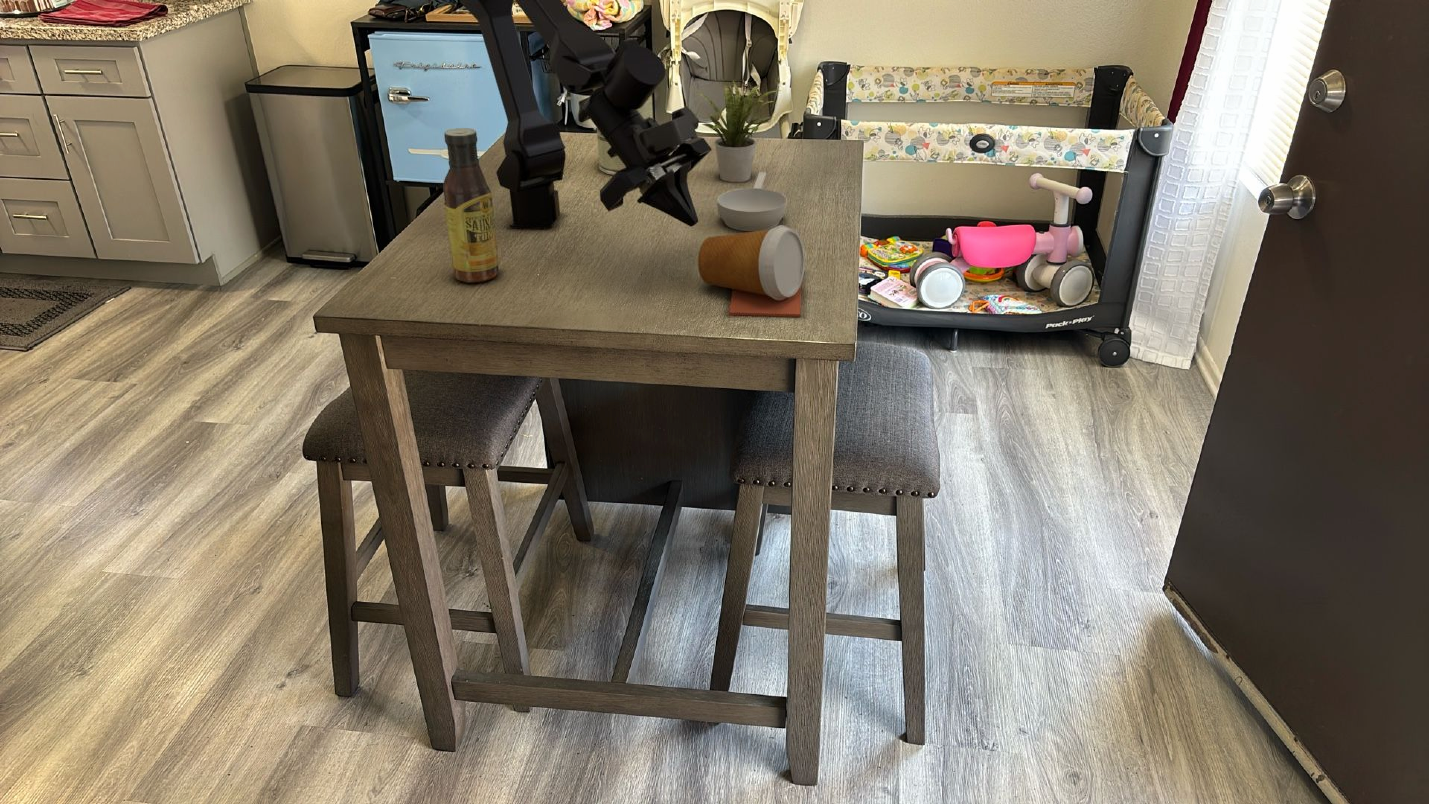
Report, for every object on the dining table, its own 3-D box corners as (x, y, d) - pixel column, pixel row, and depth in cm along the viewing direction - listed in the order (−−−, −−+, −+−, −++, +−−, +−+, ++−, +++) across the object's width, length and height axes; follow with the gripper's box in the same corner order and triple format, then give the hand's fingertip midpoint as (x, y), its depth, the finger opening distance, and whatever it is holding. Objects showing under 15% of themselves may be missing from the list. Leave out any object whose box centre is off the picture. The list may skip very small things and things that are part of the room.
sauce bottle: (477, 288, 132) (456, 141, 122) (444, 279, 135) (421, 134, 125) (511, 272, 137) (493, 129, 127) (477, 263, 140) (458, 122, 130)
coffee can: (609, 156, 182) (604, 78, 175) (662, 160, 180) (660, 81, 173) (590, 174, 174) (584, 92, 167) (646, 178, 172) (643, 95, 165)
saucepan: (711, 231, 150) (711, 207, 148) (730, 192, 165) (730, 170, 163) (782, 235, 148) (782, 211, 146) (794, 196, 163) (795, 173, 161)
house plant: (799, 179, 170) (803, 83, 162) (739, 197, 163) (740, 97, 154) (744, 161, 180) (745, 68, 171) (685, 176, 172) (683, 81, 164)
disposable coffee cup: (709, 310, 133) (788, 316, 127) (682, 262, 126) (764, 265, 120) (735, 259, 137) (813, 261, 131) (710, 209, 130) (791, 209, 124)
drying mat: (729, 315, 125) (729, 312, 125) (736, 270, 137) (736, 268, 137) (800, 317, 124) (800, 314, 124) (801, 272, 136) (801, 269, 136)
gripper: (612, 106, 118) (690, 212, 118) (699, 75, 131) (768, 170, 132) (567, 160, 126) (640, 259, 126) (652, 125, 139) (719, 215, 140)
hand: (695, 224), depth 131 cm, fingers closed
